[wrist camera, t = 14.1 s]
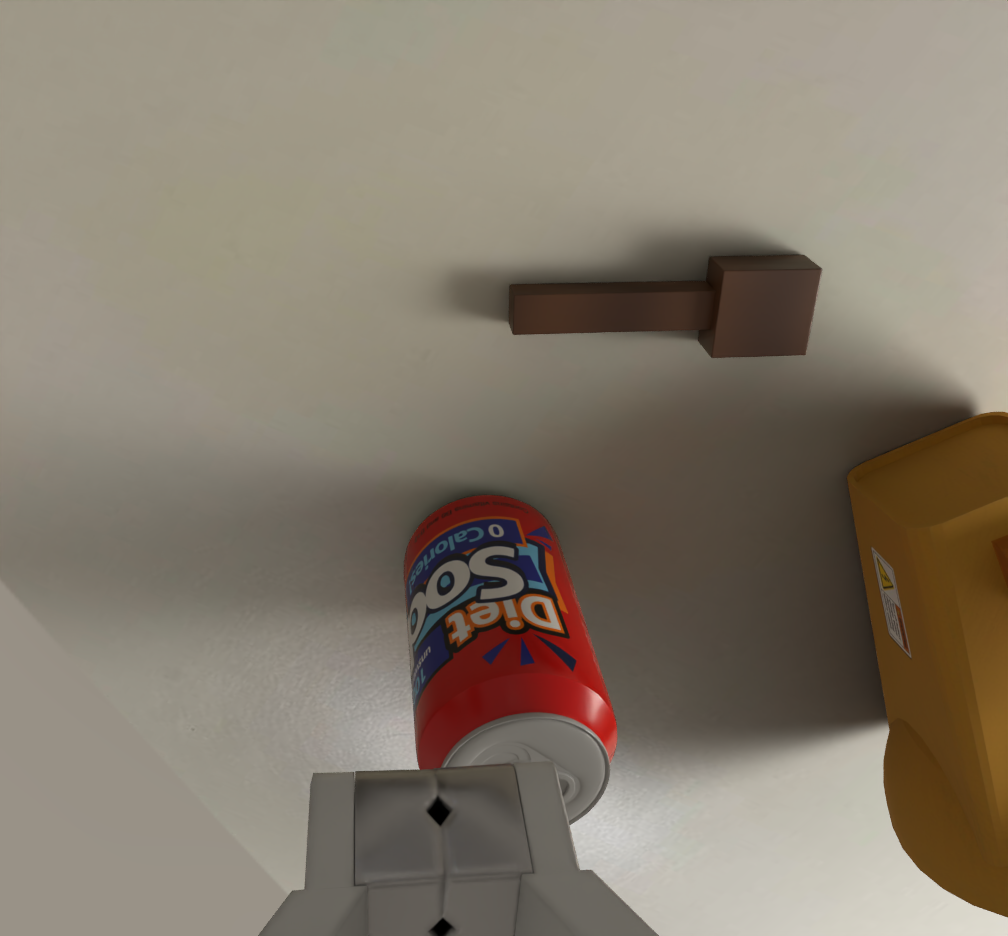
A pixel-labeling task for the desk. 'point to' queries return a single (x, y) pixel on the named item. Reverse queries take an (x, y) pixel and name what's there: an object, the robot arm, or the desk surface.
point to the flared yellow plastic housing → (943, 647)
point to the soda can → (503, 649)
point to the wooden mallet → (687, 306)
